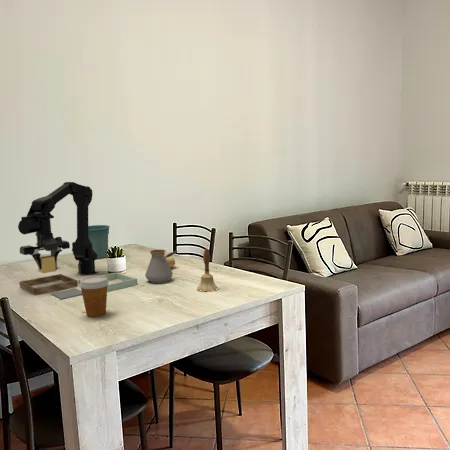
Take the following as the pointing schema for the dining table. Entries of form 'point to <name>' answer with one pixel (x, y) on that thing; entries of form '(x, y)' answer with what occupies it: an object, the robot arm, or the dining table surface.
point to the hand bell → (207, 275)
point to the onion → (170, 261)
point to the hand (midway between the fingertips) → (46, 268)
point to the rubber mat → (67, 293)
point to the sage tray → (125, 282)
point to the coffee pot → (159, 267)
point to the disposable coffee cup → (94, 295)
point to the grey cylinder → (50, 255)
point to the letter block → (47, 264)
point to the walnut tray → (36, 291)
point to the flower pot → (99, 239)
